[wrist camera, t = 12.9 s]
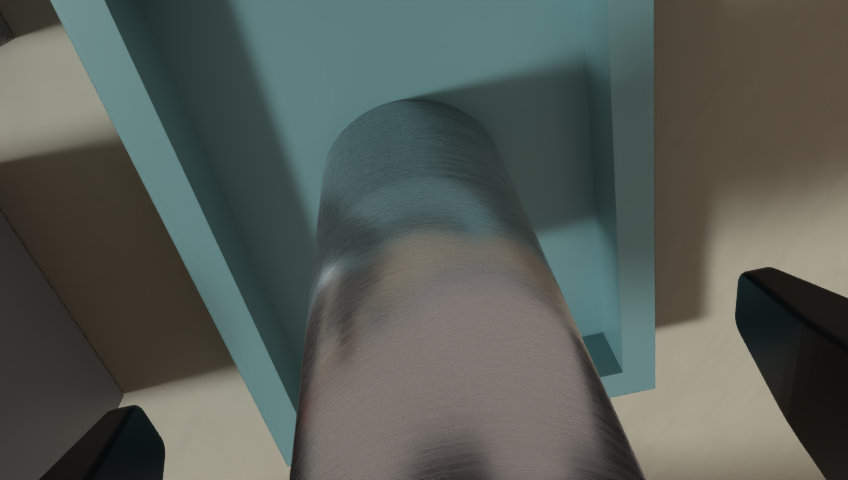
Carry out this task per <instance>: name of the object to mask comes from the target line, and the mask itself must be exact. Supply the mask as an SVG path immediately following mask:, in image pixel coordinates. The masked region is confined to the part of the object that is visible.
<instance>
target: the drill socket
mask: <svg viewBox="0 0 848 480" xmlns="http://www.w3.org/2000/svg"><path fill="white" fill-rule="evenodd" d="M13 39H14V37H13V35H12V33H11V31H10V30H9V28H8V26H7V24H6V22H5V21H4V19H3V17H2V15H1V14H0V46H2V45H4V44H6V43H7V42H9V41H11V40H13Z"/></svg>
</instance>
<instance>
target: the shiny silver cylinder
mask: <svg viewBox="0 0 848 480" xmlns="http://www.w3.org/2000/svg"><path fill="white" fill-rule="evenodd" d="M289 480H646V479H645V476H644V474H643V472H642V470H641V468H640V465H639V463H638V461H637V459H636V456H635V454H634V452H633V450H632V448H631V445H630V443H629V441H628V439H627V436H626V434H625V432H624V430H623V428H622V425H621V423H620V421H619V419H618V416H617V414H616V412H615V410H614V407H613V405H612V403H611V401H610V399H609V396H608V394H607V392H606V390H605V387H604V385H603V383H602V381H601V379H600V376H599V374H598V372H597V370H596V367H595V365H594V363H593V361H592V359H591V356H590V354H589V352H588V350H587V347H586V345H585V343H584V341H583V339H582V336H581V334H580V332H579V330H578V327H577V325H576V323H575V321H574V318H573V316H572V314H571V312H570V310H569V307H568V305H567V303H566V301H565V298H564V296H563V294H562V292H561V290H560V287H559V285H558V283H557V281H556V278H555V276H554V274H553V272H552V270H551V267H550V265H549V263H548V261H547V258H546V256H545V254H544V252H543V249H542V247H541V245H540V243H539V241H538V238H537V236H536V234H535V232H534V229H533V227H532V225H531V223H530V221H529V218H528V216H527V214H526V212H525V209H524V207H523V205H522V203H521V201H520V198H519V196H518V194H517V192H516V189H515V187H514V185H513V183H512V180H511V178H510V176H509V174H508V172H507V169H506V167H505V165H504V163H503V160H502V158H501V156H500V154H499V152H498V149H497V147H496V145H495V143H494V142H493V140H492V138H491V136H490V135H489V134H488V133H487V131H486V130H485V129H484V128H483V126H481V125H480V124H479V123H478V122H477V121H476V120H475V119H474V118H472V117H471V116H469V115H468V114H467V113H465V112H463V111H461V110H459V109H457V108H455V107H453V106H450V105H448V104H445V103H442V102H437V101H432V100H423V99H408V100H400V101H394V102H390V103H387V104H384V105H380V106H378V107H376V108H374V109H371V110H369V111H367V112H366V113H364V114H362V115H361V116H359V117H358V118H356V119H355V120H354V121H353V122H352V123H350V124H349V125H348V126H347V127H346V128H345V129H344V130H343V131H342V132H341V134H340V135H339V136H338V138H337V139H336V140H335V142H334V143H333V145H332V147H331V149H330V151H329V153H328V156H327V159H326V161H325V164H324V170H323V175H322V185H321V194H320V203H319V212H318V221H317V231H316V240H315V249H314V258H313V267H312V277H311V286H310V295H309V304H308V314H307V323H306V332H305V341H304V350H303V360H302V369H301V378H300V387H299V396H298V406H297V415H296V424H295V433H294V442H293V452H292V461H291V470H290V479H289Z"/></svg>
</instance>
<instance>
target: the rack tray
mask: <svg viewBox="0 0 848 480" xmlns="http://www.w3.org/2000/svg"><path fill="white" fill-rule="evenodd" d="M50 1H51V3H52V5H53V7H54V9H55V11H56V13H57V15H58V17H59V19H60V21H61V23H62V25H63V27H64V29H65V31H66V32H67V34H68V36H69V38H70V40H71V42H72V44H73V46H74V48H75V50H76V52H77V54H78V56H79V58H80V60H81V62H82V64H83V66H84V68H85V70H86V72H87V74H88V76H89V78H90V80H91V82H92V83H93V85H94V87H95V89H96V91H97V93H98V95H99V97H100V99H101V101H102V103H103V105H104V107H105V109H106V111H107V113H108V115H109V117H110V119H111V121H112V123H113V125H114V127H115V129H116V131H117V133H118V134H119V136H120V138H121V140H122V142H123V144H124V146H125V148H126V150H127V152H128V154H129V156H130V158H131V160H132V162H133V164H134V166H135V168H136V170H137V172H138V174H139V176H140V178H141V180H142V182H143V184H144V185H145V187H146V189H147V191H148V193H149V195H150V197H151V199H152V201H153V203H154V205H155V207H156V209H157V211H158V213H159V215H160V217H161V219H162V221H163V223H164V225H165V227H166V229H167V231H168V233H169V235H170V236H171V238H172V240H173V242H174V244H175V246H176V248H177V250H178V252H179V254H180V256H181V258H182V260H183V262H184V264H185V266H186V268H187V270H188V272H189V274H190V276H191V278H192V280H193V282H194V284H195V286H196V287H197V289H198V291H199V293H200V295H201V297H202V299H203V301H204V303H205V305H206V307H207V309H208V311H209V313H210V315H211V317H212V319H213V321H214V323H215V325H216V327H217V329H218V331H219V333H220V335H221V337H222V338H223V340H224V342H225V344H226V346H227V348H228V350H229V352H230V354H231V356H232V358H233V360H234V362H235V364H236V366H237V368H238V370H239V372H240V374H241V376H242V378H243V380H244V382H245V384H246V386H247V388H248V389H249V391H250V393H251V395H252V397H253V399H254V401H255V403H256V405H257V407H258V409H259V411H260V413H261V415H262V417H263V419H264V421H265V423H266V425H267V427H268V429H269V431H270V433H271V435H272V437H273V439H274V440H275V442H276V444H277V446H278V448H279V450H280V452H281V454H282V456H283V458H284V460H285V462H286V464H287V466H291V461H292V452H293V442H294V433H295V424H296V415H297V406H298V396H299V387H300V378H301V369H302V360H303V350H304V341H305V332H306V323H307V314H308V304H309V295H310V286H311V277H312V267H313V258H314V249H315V240H316V231H317V221H318V212H319V203H320V194H321V185H322V175H323V170H324V164H325V161H326V159H327V156H328V153H329V151H330V149H331V147H332V145H333V143H334V142H335V140H336V139H337V138H338V136H339V135H340V134H341V132H342V131H343V130H344V129H345V128H346V127H347V126H348V125H349V124H350V123H352V122H353V121H354V120H355V119H356V118H358V117H359V116H361V115H362V114H364V113H366V112H367V111H369V110H371V109H374V108H376V107H378V106H380V105H384V104H387V103H390V102H394V101H400V100H408V99H423V100H432V101H437V102H442V103H445V104H448V105H450V106H453V107H455V108H457V109H459V110H461V111H463V112H465V113H467V114H468V115H469V116H471V117H472V118H474V119H475V120H476V121H477V122H478V123H479V124H480V125H481V126H483V128H484V129H485V130H486V131H487V133H488V134H489V135H490V136H491V138H492V140H493V142H494V143H495V145H496V147H497V149H498V152H499V154H500V156H501V158H502V160H503V163H504V165H505V167H506V169H507V172H508V174H509V176H510V178H511V180H512V183H513V185H514V187H515V189H516V192H517V194H518V196H519V198H520V201H521V203H522V205H523V207H524V209H525V212H526V214H527V216H528V218H529V221H530V223H531V225H532V227H533V229H534V232H535V234H536V236H537V238H538V241H539V243H540V245H541V247H542V249H543V252H544V254H545V256H546V258H547V261H548V263H549V265H550V267H551V270H552V272H553V274H554V276H555V278H556V281H557V283H558V285H559V287H560V290H561V292H562V294H563V296H564V298H565V301H566V303H567V305H568V307H569V310H570V312H571V314H572V316H573V318H574V321H575V323H576V325H577V327H578V330H579V332H580V334H581V336H582V339H583V341H584V343H585V345H586V347H587V350H588V352H589V354H590V356H591V359H592V361H593V363H594V365H595V367H596V370H597V372H598V374H599V376H600V379H601V381H602V383H603V385H604V387H605V390H606V392H607V394H608V396H609V398H611V397H616V396H621V395H625V394H630V393H635V392H640V391H644V390H649V389H654V388H655V183H654V0H50Z"/></svg>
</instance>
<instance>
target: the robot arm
mask: <svg viewBox="0 0 848 480" xmlns="http://www.w3.org/2000/svg"><path fill="white" fill-rule="evenodd" d="M735 320H736V325H737V328H738V330H739V333H740V335H741V336H742V338H743V340H744V342H745V344H746V346H747V348H748V350H749V352H750V353H751V355H752V357H753V359H754V361H755V363H756V365H757V367H758V369H759V370H760V372H761V374H762V376H763V378H764V380H765V382H766V384H767V386H768V387H769V389H770V391H771V393H772V395H773V397H774V399H775V401H776V403H777V404H778V406H779V408H780V410H781V412H782V413H783V415H784V417H785V419H786V420H787V422H788V424H789V425H790V427H791V428H792V430H793V431H794V433H795V434H796V436H797V437H798V439H799V440H800V442H801V443H802V445H803V446H804V448H805V449H806V451H807V452H808V454H809V455H810V457H811V458H812V459H813V461H814V462H815V464H816V465H817V467H818V468H819V470H820V471H821V473H822V474H823V476H824V477H825V479H826V480H848V298H846V297H844V296H841V295H839V294H836V293H834V292H832V291H829V290H827V289H824V288H822V287H819V286H817V285H814V284H812V283H810V282H807V281H805V280H802V279H800V278H797V277H795V276H792V275H790V274H788V273H785V272H783V271H780V270H778V269H775V268H772V267H765V268H760V269H756V270H751V271H746V272H744V273H742V274H741V275H740V277H739V280H738V288H737V299H736V311H735ZM164 462H165V447H164V443H163V440H162V438H161V437H160V435H159V434H158V432H157V430H156V429H155V427H154V426H153V424H152V423H151V421H150V420H149V418H148V417H147V415H146V414H145V412H144V411H143V410H142V408H140V407H139V406H137V405H131V406H126V407H121V408H117V409H113V410H110V411H108V412H107V413H106V414H105V415H104V416H102V417H101V418H100V419H99V420H98V421H97V422H96V423H95V424H94V425H93V426H92V427H91V428H90V429H89V430H88V431H87V432H86V433H85V434H84V435H83V436H82V437H81V438H80V439H79V440H78V441H77V442H76V443H75V444H74V445H73V446H72V447H71V448H70V449H69V450H68V451H67V452H66V453H65V454H64V455H63V456H62V457H61V458H60V459H59V460H58V461H57V462H56V463H55V464H54V465H53V466H52V467H51V468H50V469H49V470H48V471H47V472H46V473H45V474H44V475H43V476H42V477H41V478H40V479H39V480H163V472H164Z"/></svg>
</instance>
